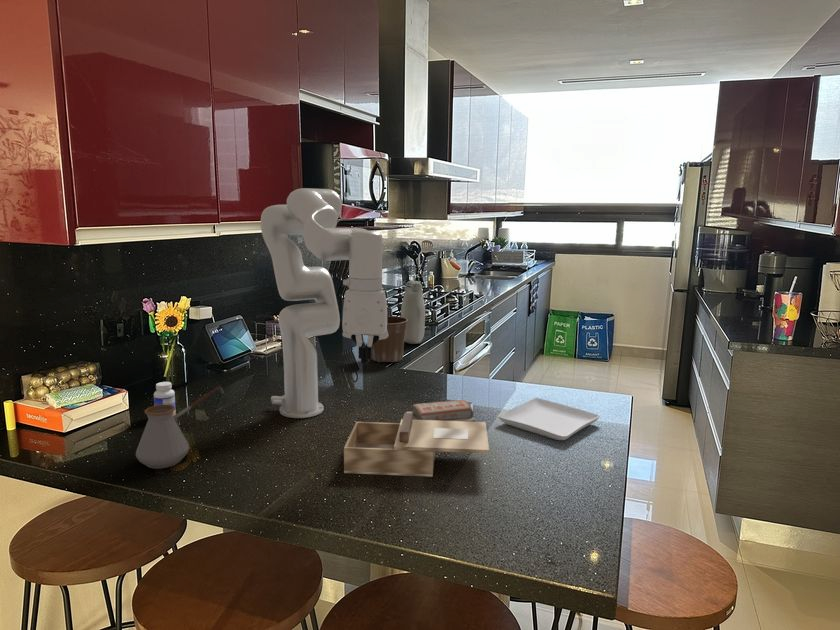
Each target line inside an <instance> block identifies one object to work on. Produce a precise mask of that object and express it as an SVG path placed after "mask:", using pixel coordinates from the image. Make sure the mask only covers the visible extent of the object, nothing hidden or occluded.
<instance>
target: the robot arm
mask: <svg viewBox="0 0 840 630" xmlns="http://www.w3.org/2000/svg"><path fill="white" fill-rule="evenodd" d="M342 208H343V207H342V200H341V197H340V195H339V194H338V193H337V192H336V191H335V190H333V189H330V188H312V187H311V188H310V187H309V188H307V187H306V188H305V187H303V188H297V189H294V190H293V191H291V192H290V193H289V195H288V196H287V198H286V204H274V205H270V206H267V207H266V208H264V209H263V211H262V213H261V216H260V230H261V235H262V237H263V240H264V243H265V245H266V247H267V248H268V251H269V254H270V256H271V260H272V266H273V267H272V268H273V271H274V272H273V273H274V277H275V282H276V286H277V291H278V293H279V296H280V297H281V298H280V299H282V300H284V301H289V302H291V301H292V302H295V301H296V302H297V301H308V300H309V301H310V300H314V301H315V302H312V303H310V302H309V303H299V304H292V305H288V306H285V308H282V310H281V311H280V312H279V314H278V327H279V331H280V335H281V340H282V357H283V358H282V359H283V382H284V383H283V384H284V395H282V396H278V395H272V396H271V398H270V402H271V403H272V405H274V406H275V405H276V406H277V405H279V406H280V407H279V413H280V415H282V416H283V417H286V418H290V419H291V418H292V419H307V418H311V417H312V418H313V417H315V416H318V415H320V414H322V413H323V411H324V405H323V404H322V403H321V402H319V385H318V384H319V380H318V379H319V378H318V375H319V374H318V352H317V348H316V347H315V345H314V344H312V343H311V341H310V340H309V338H313V337H317V336H324V335H325V336H326V335H331V334H333V333H336V332H337V330H339V328H340V324H341V323H342V324H341V325H342V336H343V337H344V338H347V339H351V340H352V341H353V342H354V343H355V344H356V346H357V348H358V359H359V360H360V364H369V362H370V360H372V345H373V344H374V343H375V342H376V341H378V340H381V339H386V338H388V331H387V326H388V316H389V314H388V305H387V303H388V302H387V295H386V292H385V290H383V247H384V246H383V243H384V242H383V241H384V240H383V239H384V238H383V235H382V233H380V231H376V230H368V229H365V228H359V227H337V224H338V222H339V221H338V219H339V217H340V215H341V212H342ZM290 235H291V236H293V235H295V236H298V235H299V236H300V235H301V236H302V238H303V241H304V245H305V247H306V248H307V250H308V251H309V252H310V253H311V254H312V255H313V256H314V257H316V258H317V259H319V260H321V261H325V262H327V261H329V262H332V261H348V263H349V264H348V266H349V268H348V269H349V270H348V272H349V273H348V274H349V275H348V278H345V279H342V285H343V286H346V287H348V289H347V290H345V292H344V293H345V294H344V298H343V299H344V300H343V305H342V306H343V307H342V320H341V318H340V311H339V305H338V300H337V295H336V290H335V285H334V281H333V278H332V275H331V273H330V272H329V271H328V270H327V269H326V268H325V267H322V266H306V264H304V259H303V254H302V251H301V249H300V247H299V246H298V245H297V244H296V242H294V241H293V239H291V238H290V237H289V236H290ZM341 321H342V322H341ZM340 322H341V323H340ZM364 336H368V337H367V342H366V343H365V339H364Z"/></svg>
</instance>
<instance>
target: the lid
mask: <svg viewBox="0 0 840 630" xmlns="http://www.w3.org/2000/svg"><path fill="white" fill-rule="evenodd" d="M399 423H400V426H399V430H398V433H397V437H396V441H395V445H394V450H415V451H435V452H441V453H442V452H445V453H446V452H448V453H465V454H466V453H469V454H470V453H471V454H490V445H489V440H488V439H489V438H488V431H487V424H486V423H487V422H486V421H476V422H468V421H440V420H413V413H406V412H404V413H403V417H402V418H401V419H400V422H399Z"/></svg>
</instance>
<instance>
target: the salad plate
mask: <svg viewBox="0 0 840 630" xmlns="http://www.w3.org/2000/svg"><path fill="white" fill-rule="evenodd" d="M497 418H498V419H499V420H500V421H501V422H502V423H504V424H506V425H509V426H512V427H514V428H518V429H521V430H524V431H526V430H527V432H529V431H530V432H529V433H532V432H533V434H536V435H540V436H542V435H543V436H542V437H545V436H546V437H547V438H550V439H552V440H556V441H565V440H567V439H569V438H570V437H571V436H573V435H574V434H576V433H578V432H580V431H581V430H583V429H585V428H587V427H588V426H590V425H591V424H594V423H595V422H596V421H597V422H598V420H599V419H600V418H601V415H599V414H597V413H594V412H591V411H587V410H584V409H580V408H576V407H573V406H570V405H565V404H562V403H558V402H556V401H550V400H547V399H545V398H544V399H543V398H539V397H535V398H534V397H533V398H532V399H529V400H528V401H525V402H523V403H521V404H519V405H516V406H515V407H513V408H511V409H508V410H506V411H503V412H502V413H499V414H497ZM546 437H545V438H546Z"/></svg>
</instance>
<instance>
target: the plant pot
mask: <svg viewBox="0 0 840 630" xmlns="http://www.w3.org/2000/svg"><path fill="white" fill-rule="evenodd" d="M407 321H408V319H407V318H403V317H401V316H395V315H388V326H387V331H388V338H386V339H381V340H378V341H376V342H375V343H374V344H373V345H372V359H371V360H372V361H373V360H374V361H373V362H375V361H377V362H376V363H380V362H383V363H387V362H395V363H399V362H401V361H402V360H403V359H404V347H405V346H404V345H405V341H404V337H405V330H406V323H407Z"/></svg>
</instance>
